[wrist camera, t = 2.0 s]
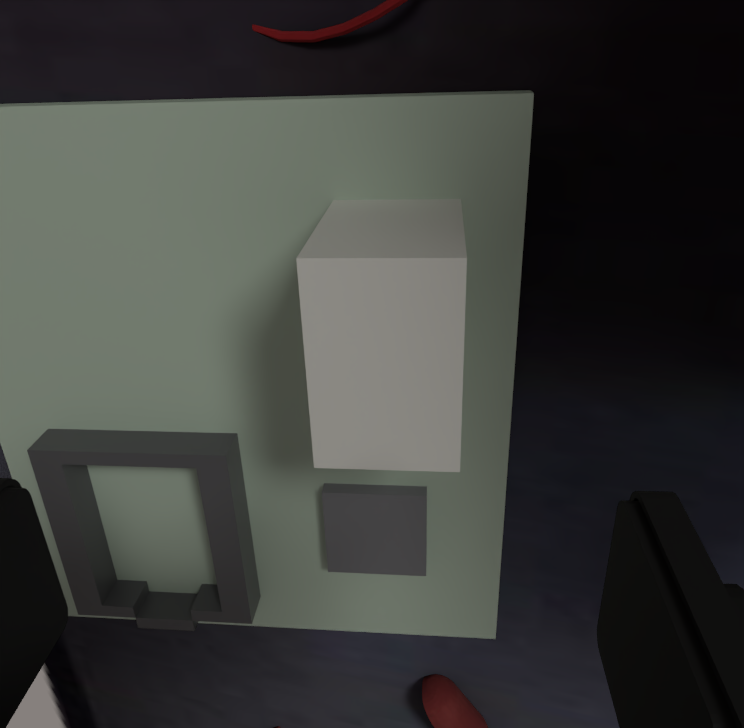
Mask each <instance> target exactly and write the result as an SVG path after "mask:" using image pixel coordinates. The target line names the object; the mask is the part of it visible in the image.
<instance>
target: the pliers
mask: <svg viewBox="0 0 744 728" xmlns="http://www.w3.org/2000/svg"><path fill="white" fill-rule="evenodd" d="M422 699H423V705H424V708H425V711H426V714H427V716H428V718H429V720H430V722H431V723H432V725H433V726H434V728H488V726H487V724H486V722H485V720H484V718H483V717H482V715H481V714H480V713H479V712H478V711H477V710H476V708H475V707H474V706H473V705H472V704H471V703H470V701H469V700H468V699H467V698H466V697H465V696H464V694H463V693H462V692H461V691H460V690H459V689H458V687H457V686H456V685H455V684H454V683H453V681H451V680H450V679H449V678H447V677H445V676H442V675H437V674H434V675H429V676H426V677H424V679H423V683H422ZM275 728H280V727H279V726H277V727H275Z"/></svg>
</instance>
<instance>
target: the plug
mask: <svg viewBox="0 0 744 728" xmlns="http://www.w3.org/2000/svg"><path fill="white" fill-rule="evenodd" d="M296 262H297V274H298V285H299V297H300V309H301V321H302V332H303V344H304V356H305V368H306V380H307V391H308V403H309V415H310V427H311V438H312V450H313V462H314V468H332V469H366V470H399V471H433V472H460V458H461V427H462V396H463V365H464V334H465V303H466V273H467V253H466V244H465V234H464V224H463V214H462V204H461V199H395V200H333V201H332V203H331V204H330V206H329V208H328V209H327V211H326V212H325V214H324V215H323V217H322V219H321V220H320V222H319V223H318V225H317V226H316V228H315V230H314V231H313V233H312V234H311V236H310V237H309V239H308V241H307V242H306V244H305V245H304V247H303V248H302V250H301V252H300V253H299V255H298V256H297V258H296Z"/></svg>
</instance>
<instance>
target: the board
mask: <svg viewBox="0 0 744 728" xmlns="http://www.w3.org/2000/svg"><path fill="white" fill-rule="evenodd" d="M533 101H534V93H533V92H532V91H530V90H520V91H482V92H443V93H404V94H366V95H327V96H288V97H250V98H211V99H172V100H134V101H95V102H56V103H18V104H0V443H1V446H2V449H3V452H4V455H5V458H6V461H7V464H8V467H9V470H10V473H11V476H12V479H15V480H17V481H18V482H19V483H20V485H21V487H22V488H26V489H27V490H28V491H29V492H30V494H31V497H32V500H33V503H34V506H35V509H36V512H37V515H38V518H39V521H40V524H41V527H42V530H43V533H44V536H45V539H46V542H47V545H48V548H49V551H50V554H51V557H52V560H53V563H54V566H55V569H56V573H57V576H58V579H59V582H60V585H61V588H62V591H63V594H64V597H65V600H66V603H67V606H68V616H78V617H97V618H115V619H134V620H136V618H130V617H112V616H93V615H78V613H77V609H76V606H75V603H74V600H73V596H72V593H71V590H70V587H69V584H68V580H67V577H66V574H65V571H64V568H63V564H62V561H61V558H60V555H59V551H58V548H57V545H56V542H55V539H54V535H53V532H52V529H51V526H50V523H49V519H48V516H47V513H46V510H45V506H44V503H43V500H42V497H41V494H40V490H39V487H38V484H37V481H36V478H35V474H34V471H33V468H32V465H31V462H30V458H29V455H28V452H27V450H28V449H29V448H30V447H31V446H32V445H33V443H34V442H35V441H36V440H37V439H38V438H39V437H40V436H41V435H42V434H43V433H44V432H45V431H46V430H47V429H82V430H122V431H162V432H203V433H237V434H238V442H239V449H240V456H241V463H242V470H243V477H244V484H245V491H246V498H247V505H248V512H249V519H250V526H251V533H252V540H253V547H254V554H255V561H256V568H257V575H258V582H259V589H260V596H261V597H260V600H259V604H258V607H257V610H256V613H255V616H254V619H253V622H252V624H242V623H224V622H205V621H199V622H198V623H208V624H227V625H246V626H264V627H283V628H301V629H320V630H339V631H357V632H376V633H394V634H413V635H432V636H450V637H469V638H487V639H496V625H497V611H498V597H499V582H500V568H501V554H502V540H503V526H504V512H505V497H506V483H507V469H508V455H509V441H510V427H511V412H512V398H513V384H514V370H515V356H516V342H517V327H518V313H519V299H520V285H521V271H522V256H523V242H524V228H525V214H526V200H527V186H528V171H529V157H530V143H531V129H532V115H533ZM395 199H461V204H462V214H463V224H464V234H465V244H466V253H467V273H466V303H465V334H464V365H463V396H462V427H461V458H460V472H433V471H399V470H366V469H332V468H314V462H313V450H312V438H311V427H310V415H309V403H308V391H307V380H306V368H305V356H304V344H303V332H302V321H301V309H300V297H299V285H298V274H297V262H296V258H297V256H298V255H299V253H300V252H301V250H302V248H303V247H304V245H305V244H306V242H307V241H308V239H309V237H310V236H311V234H312V233H313V231H314V230H315V228H316V226H317V225H318V223H319V222H320V220H321V219H322V217H323V215H324V214H325V212H326V211H327V209H328V208H329V206H330V204H331V203H332V201H333V200H395ZM87 468H88V471H89V475H90V479H91V483H92V486H93V490H94V494H95V498H96V501H97V505H98V509H99V513H100V516H101V520H102V524H103V528H104V531H105V535H106V539H107V543H108V546H109V550H110V554H111V558H112V561H113V565H114V569H115V573H116V576H117V580H133V581H147V584H148V588H149V591H153V592H173V593H194V594H198V592H199V589H200V587H201V585H202V584H217V581H216V576H215V570H214V565H213V559H212V554H211V548H210V543H209V537H208V531H207V526H206V520H205V515H204V509H203V504H202V498H201V492H200V487H199V481H198V476H197V470H196V468H163V467H130V466H97V465H87Z"/></svg>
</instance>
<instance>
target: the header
mask: <svg viewBox="0 0 744 728" xmlns="http://www.w3.org/2000/svg"><path fill="white" fill-rule="evenodd" d="M27 452H28V455H29V458H30V462H31V465H32V468H33V471H34V474H35V478H36V481H37V484H38V487H39V490H40V494H41V497H42V500H43V503H44V506H45V510H46V513H47V516H48V519H49V523H50V526H51V529H52V532H53V535H54V539H55V542H56V545H57V548H58V551H59V555H60V558H61V561H62V564H63V568H64V571H65V574H66V577H67V580H68V584H69V587H70V590H71V593H72V596H73V600H74V603H75V606H76V609H77V613H78V615H93V616H112V617H130V618H136V622H137V626H138V628H148V629H166V630H184V631H195V629H196V627H197V624H198V622H199V621H205V622H224V623H242V624H252V622H253V619H254V616H255V613H256V610H257V607H258V604H259V600H260V597H261V596H260V589H259V582H258V575H257V568H256V561H255V554H254V547H253V540H252V533H251V526H250V519H249V512H248V505H247V498H246V491H245V484H244V477H243V470H242V463H241V456H240V449H239V442H238V434H237V433H203V432H162V431H122V430H82V429H47V430H46V431H45V432H44V433H43V434H42V435H41V436H40V437H39V438H38V439H37V440H36V441H35V442H34V443H33V445H32V446H31V447H30V448H29V449H28V450H27ZM87 465H97V466H130V467H163V468H196V470H197V476H198V481H199V487H200V492H201V498H202V504H203V509H204V515H205V520H206V526H207V531H208V537H209V543H210V548H211V554H212V559H213V565H214V570H215V576H216V581H217V584H202V585H201V587H200V589H199V592H198V594H194V593H173V592H153V591H149V588H148V584H147V581H133V580H117V576H116V573H115V569H114V565H113V561H112V558H111V554H110V550H109V546H108V543H107V539H106V535H105V531H104V528H103V524H102V520H101V516H100V513H99V509H98V505H97V501H96V498H95V494H94V490H93V486H92V483H91V479H90V475H89V471H88V468H87Z"/></svg>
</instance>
